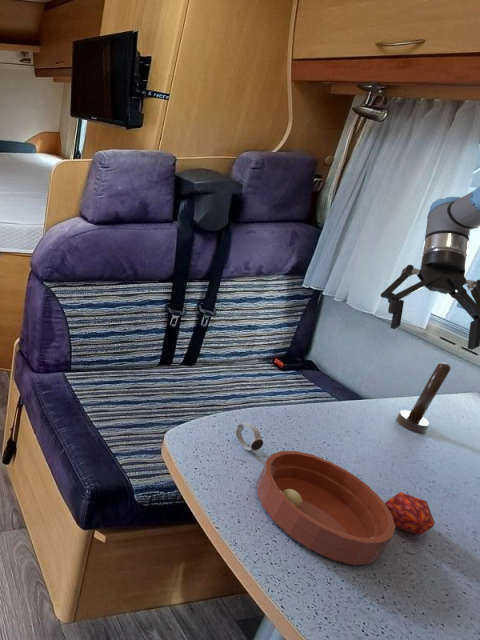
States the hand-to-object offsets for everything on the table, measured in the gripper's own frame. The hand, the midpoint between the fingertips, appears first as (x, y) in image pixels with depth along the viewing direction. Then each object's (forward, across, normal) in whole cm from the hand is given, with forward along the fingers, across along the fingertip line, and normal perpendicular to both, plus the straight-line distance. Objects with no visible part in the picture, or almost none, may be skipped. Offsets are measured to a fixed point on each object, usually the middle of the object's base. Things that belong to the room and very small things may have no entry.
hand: (433, 337), depth 105 cm
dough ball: (+49, +25, +27) cm, 61 cm away
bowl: (+50, +21, +25) cm, 59 cm away
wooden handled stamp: (+20, 0, -5) cm, 21 cm away
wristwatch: (+42, +32, +17) cm, 55 cm away
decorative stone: (+45, +8, +20) cm, 49 cm away
